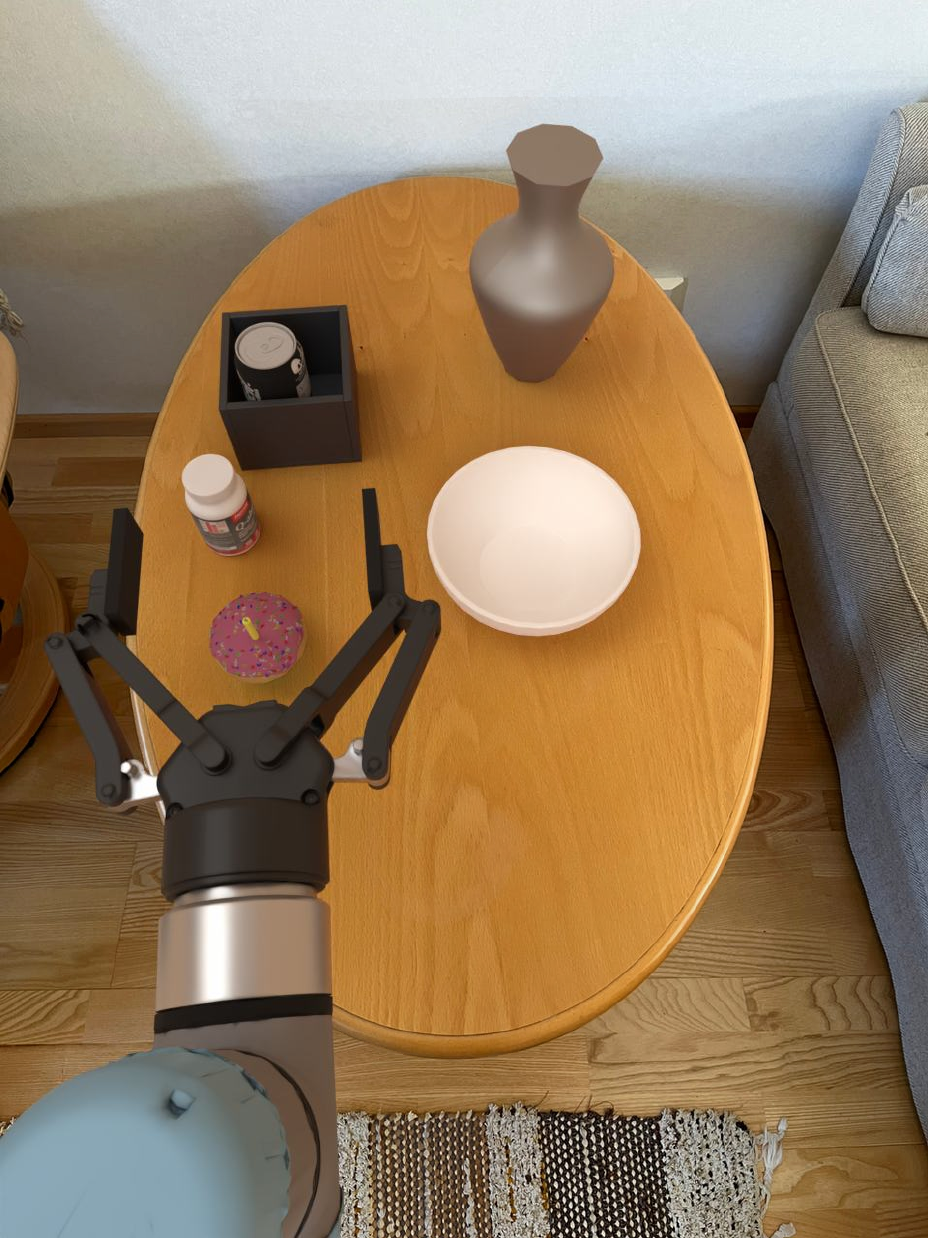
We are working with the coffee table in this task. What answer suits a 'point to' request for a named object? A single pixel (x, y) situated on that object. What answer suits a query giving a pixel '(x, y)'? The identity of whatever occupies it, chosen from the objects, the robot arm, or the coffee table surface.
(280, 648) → the cupcake
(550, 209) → the vase
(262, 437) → the trash bin
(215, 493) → the pill bottle
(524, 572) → the bowl
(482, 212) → the coffee table surface
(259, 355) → the beverage can
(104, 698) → the robot arm
